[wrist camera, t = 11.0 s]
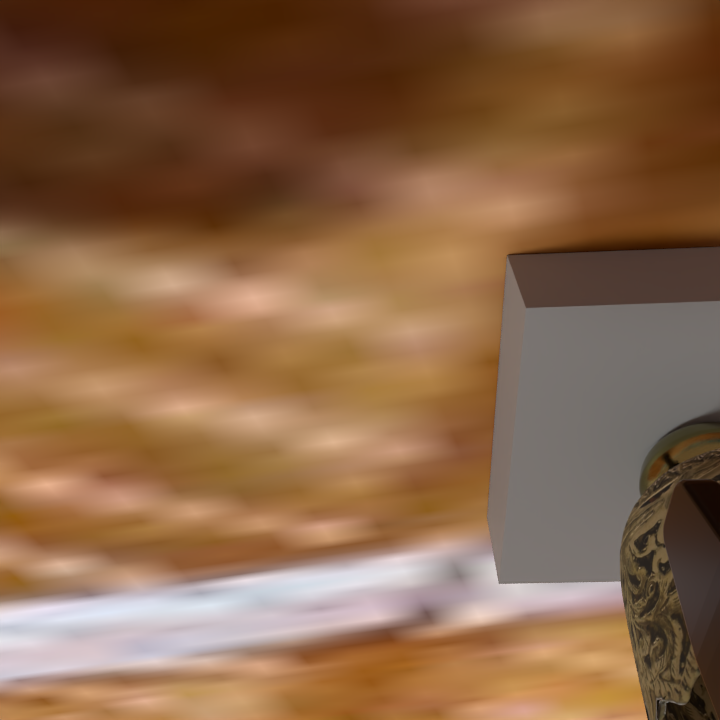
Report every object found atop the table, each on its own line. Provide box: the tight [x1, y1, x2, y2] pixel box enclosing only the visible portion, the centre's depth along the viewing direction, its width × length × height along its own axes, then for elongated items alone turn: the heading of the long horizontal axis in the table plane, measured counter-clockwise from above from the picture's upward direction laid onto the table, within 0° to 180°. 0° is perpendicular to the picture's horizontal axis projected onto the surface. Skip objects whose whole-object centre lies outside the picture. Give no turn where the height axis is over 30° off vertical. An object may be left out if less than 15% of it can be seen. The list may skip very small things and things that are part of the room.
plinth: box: [487, 247, 720, 584], centre depth 22 cm, size 11×11×3 cm
